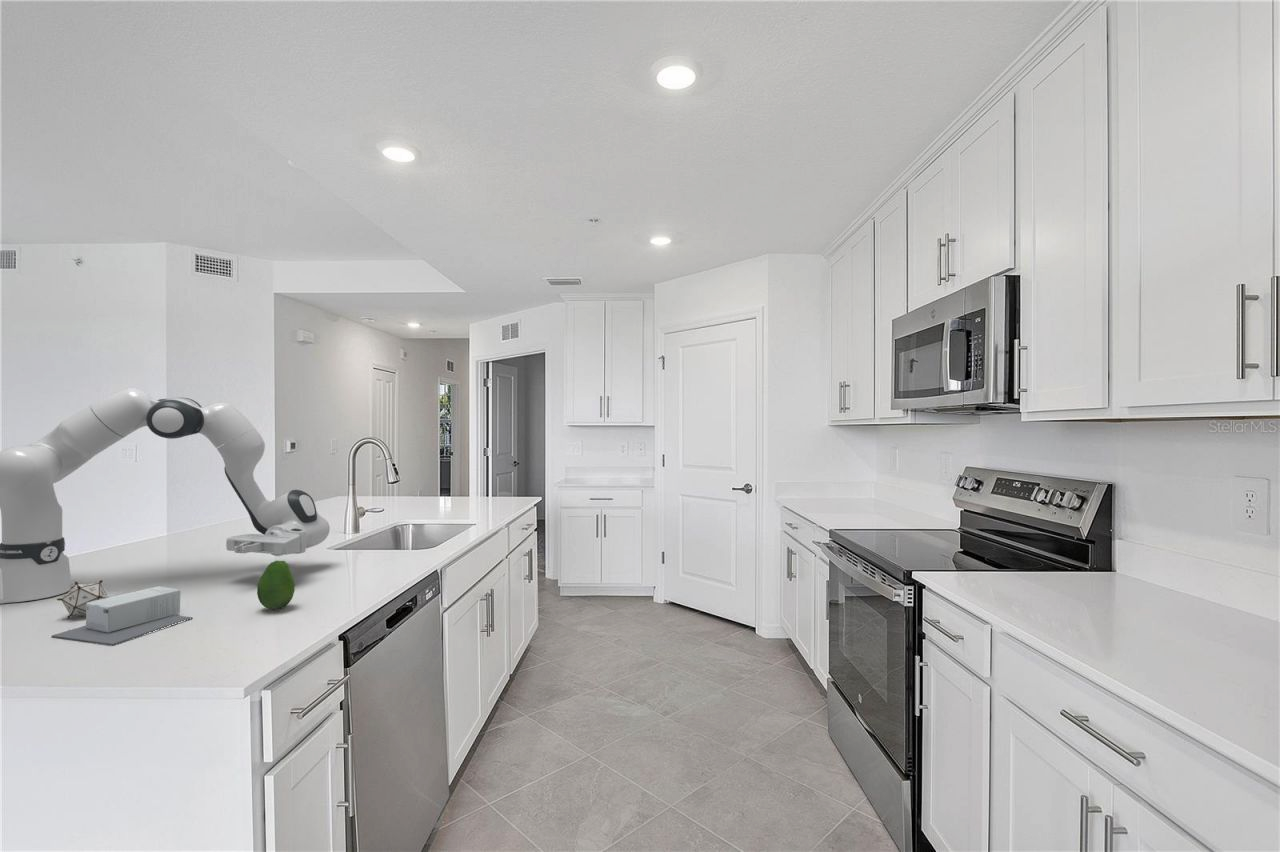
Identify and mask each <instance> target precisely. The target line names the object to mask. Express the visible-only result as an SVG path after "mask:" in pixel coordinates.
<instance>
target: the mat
mask: <svg viewBox="0 0 1280 852" xmlns="http://www.w3.org/2000/svg"><path fill="white" fill-rule="evenodd" d="M190 618H192V619H193V617H192V616H185V615H178V614H175V615H172V616H168V617H164V618H161V619H157V620H153V621H150V622H146V623H142V624H138V625H135V626H131V627H127V628H123V629H120V630H116V631H112V632H109V633H107V632H102V631H98V630H93V629H88V628H86V624H85V625H83V626H80V627H76V628H71V629H69V630H66V631H63V632H59V633H56V634H53V635H52V634H51V638H52V639H53V638H54V639H60V640H68V641H75V642H81V643H89V644H96V643H97V644H96V645H103V644H105V645H104V646H110V645H112V646H111V647H114V646H116V644H117V645H120V644H123V643H126V642H129V641H131V640H130V639H132V640H134V639H133V638H135V639H137V638H136V637H138V638H140V637H139V636H141V637H143V636H142V635H144V634H147V633H149V632H153V631H155V630H158V629H161V628H164V627H167V626H169V625H172V624H175V623H178V622H181V621H184V620H187V619H190ZM167 628H168V627H167ZM164 629H165V628H164ZM161 630H162V629H161ZM158 631H159V630H158ZM155 632H156V631H155ZM153 633H154V632H153ZM147 635H148V634H147ZM144 636H145V635H144ZM128 640H129V641H128ZM125 641H126V642H125ZM122 642H123V643H122ZM119 643H120V644H119ZM113 645H114V646H113Z"/></svg>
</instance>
